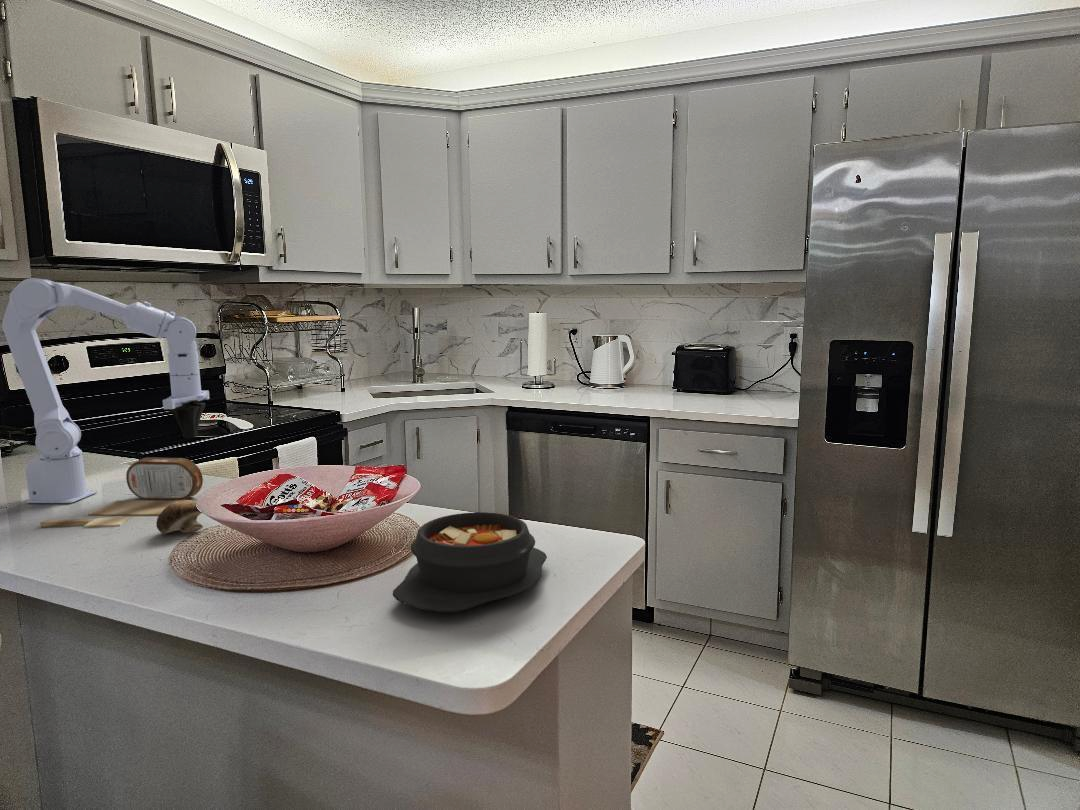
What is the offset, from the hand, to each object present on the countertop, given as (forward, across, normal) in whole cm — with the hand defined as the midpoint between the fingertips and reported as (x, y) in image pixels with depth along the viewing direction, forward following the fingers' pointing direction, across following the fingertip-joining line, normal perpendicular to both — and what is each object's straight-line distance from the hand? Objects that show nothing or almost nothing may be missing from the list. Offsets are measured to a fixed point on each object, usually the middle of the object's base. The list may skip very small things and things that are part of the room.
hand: (190, 437), depth 152 cm
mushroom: (+11, -31, -15) cm, 36 cm away
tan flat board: (+10, -18, 0) cm, 21 cm away
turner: (+10, -27, +5) cm, 29 cm away
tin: (+11, -11, 0) cm, 15 cm away
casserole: (+11, -53, -69) cm, 88 cm away
